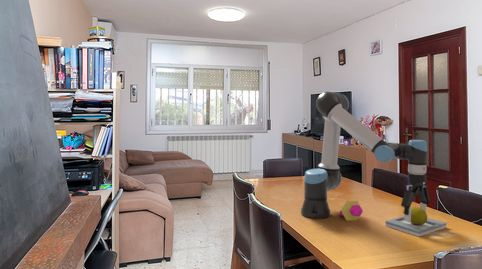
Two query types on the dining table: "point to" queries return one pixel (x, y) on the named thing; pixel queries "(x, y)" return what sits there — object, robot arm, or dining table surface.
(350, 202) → the toy
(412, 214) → the lemon
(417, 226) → the baseplate
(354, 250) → the dining table surface
